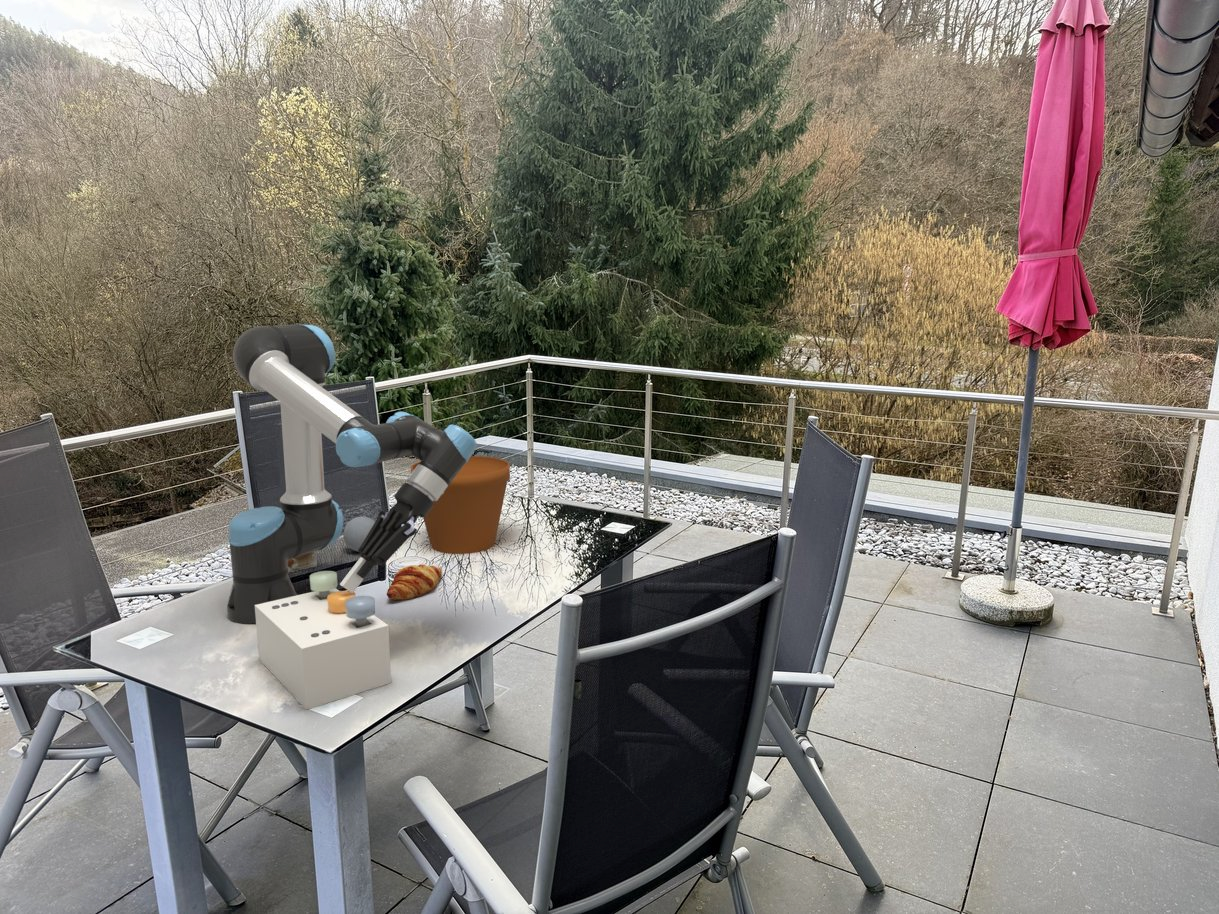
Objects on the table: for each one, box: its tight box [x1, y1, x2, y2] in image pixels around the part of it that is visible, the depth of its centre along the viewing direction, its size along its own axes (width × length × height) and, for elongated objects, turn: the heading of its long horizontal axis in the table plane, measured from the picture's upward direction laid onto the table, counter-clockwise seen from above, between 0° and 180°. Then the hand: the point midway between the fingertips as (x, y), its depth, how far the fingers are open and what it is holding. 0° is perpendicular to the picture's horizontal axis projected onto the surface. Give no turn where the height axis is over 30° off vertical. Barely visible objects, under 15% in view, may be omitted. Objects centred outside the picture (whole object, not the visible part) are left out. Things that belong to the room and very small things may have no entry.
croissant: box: [386, 564, 443, 601], centre depth 201 cm, size 21×10×8 cm, turn 158°
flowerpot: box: [410, 455, 511, 555], centre depth 236 cm, size 28×28×24 cm
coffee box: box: [287, 551, 318, 573], centre depth 215 cm, size 9×6×16 cm
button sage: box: [309, 570, 339, 600], centre depth 165 cm, size 5×5×6 cm
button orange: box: [327, 590, 356, 613], centre depth 159 cm, size 5×5×6 cm
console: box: [255, 587, 392, 711], centre depth 157 cm, size 16×26×12 cm, turn 40°
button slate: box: [345, 595, 376, 628], centre depth 152 cm, size 5×5×6 cm
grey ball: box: [342, 516, 376, 553], centre depth 230 cm, size 10×10×10 cm
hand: (346, 588), depth 158 cm, fingers closed
